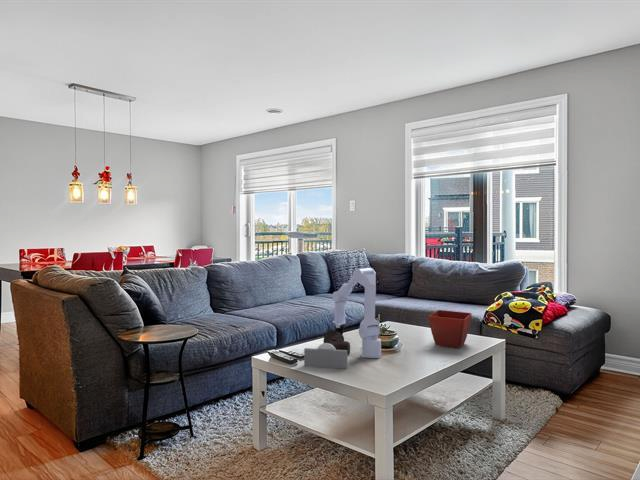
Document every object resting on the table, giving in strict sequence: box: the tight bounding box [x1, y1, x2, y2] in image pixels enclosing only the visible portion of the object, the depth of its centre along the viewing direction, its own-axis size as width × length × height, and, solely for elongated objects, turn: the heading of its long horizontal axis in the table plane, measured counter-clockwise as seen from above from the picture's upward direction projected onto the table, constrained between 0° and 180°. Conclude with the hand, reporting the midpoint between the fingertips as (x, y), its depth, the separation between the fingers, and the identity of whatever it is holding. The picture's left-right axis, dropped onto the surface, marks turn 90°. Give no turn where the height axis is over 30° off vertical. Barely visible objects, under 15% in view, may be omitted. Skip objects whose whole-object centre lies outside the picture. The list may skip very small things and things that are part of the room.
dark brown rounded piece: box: [322, 330, 351, 356], centre depth 241 cm, size 10×15×15 cm
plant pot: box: [428, 309, 473, 349], centre depth 254 cm, size 19×19×17 cm
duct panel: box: [303, 342, 348, 370], centre depth 216 cm, size 20×3×10 cm, turn 78°
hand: (339, 338), depth 254 cm, fingers closed
